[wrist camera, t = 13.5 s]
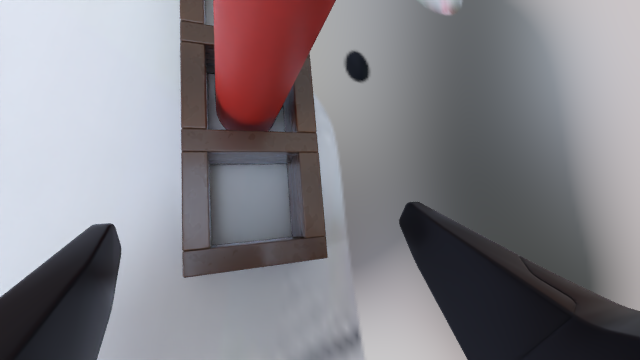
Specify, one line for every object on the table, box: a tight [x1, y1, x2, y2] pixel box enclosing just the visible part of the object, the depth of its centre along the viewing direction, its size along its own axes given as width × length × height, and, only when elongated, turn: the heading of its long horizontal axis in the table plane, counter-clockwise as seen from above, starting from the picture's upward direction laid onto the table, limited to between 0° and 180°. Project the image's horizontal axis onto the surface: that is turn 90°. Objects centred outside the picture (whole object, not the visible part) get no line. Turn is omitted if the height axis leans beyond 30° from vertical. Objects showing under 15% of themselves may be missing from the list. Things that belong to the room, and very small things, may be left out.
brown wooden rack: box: [180, 0, 328, 278], centre depth 17 cm, size 19×7×3 cm, turn 4°
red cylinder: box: [213, 0, 336, 131], centre depth 12 cm, size 4×4×12 cm
